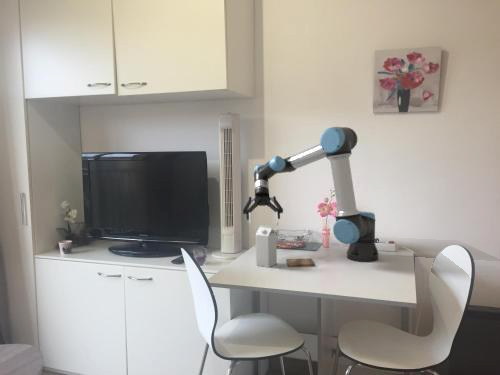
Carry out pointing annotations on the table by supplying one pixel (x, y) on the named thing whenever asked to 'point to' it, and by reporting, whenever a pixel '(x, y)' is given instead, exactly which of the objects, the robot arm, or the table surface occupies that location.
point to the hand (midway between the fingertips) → (263, 224)
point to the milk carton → (266, 246)
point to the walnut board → (300, 262)
